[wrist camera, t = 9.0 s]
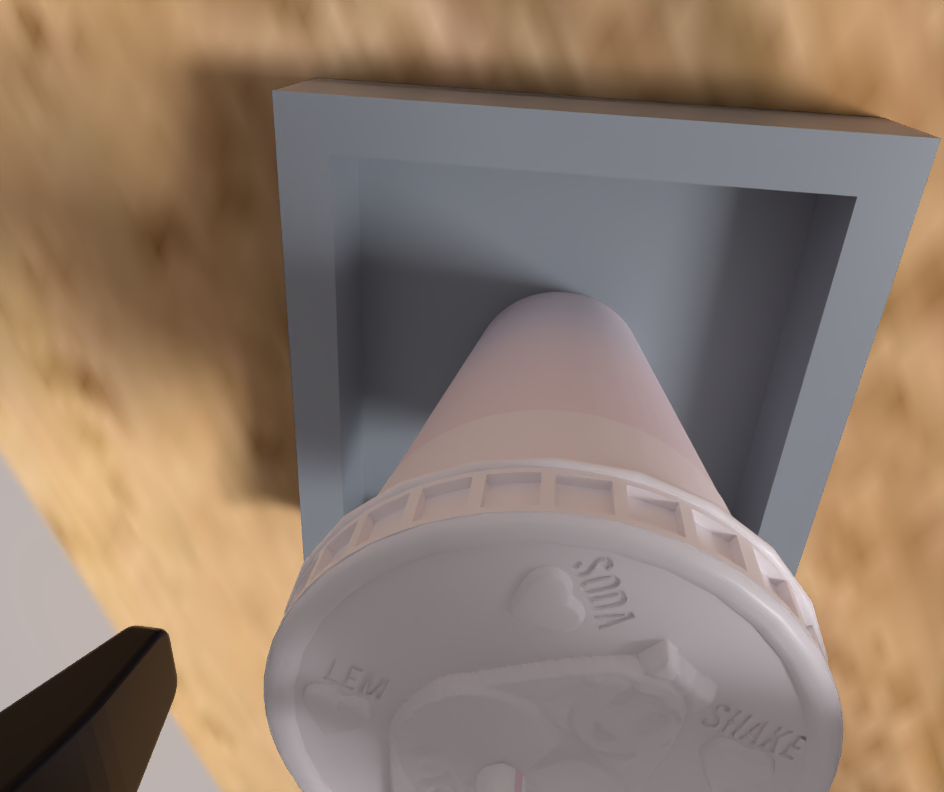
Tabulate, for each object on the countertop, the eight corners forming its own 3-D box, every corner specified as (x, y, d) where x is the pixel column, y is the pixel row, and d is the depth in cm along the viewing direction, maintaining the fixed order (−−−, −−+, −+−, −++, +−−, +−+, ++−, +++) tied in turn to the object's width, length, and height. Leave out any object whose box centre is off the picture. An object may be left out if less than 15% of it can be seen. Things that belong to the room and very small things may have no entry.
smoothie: (359, 359, 17) (-189, 1261, 5) (569, 159, 15) (538, 1011, 2) (548, 532, 19) (498, 1541, 6) (767, 380, 16) (1385, 1577, 4)
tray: (750, 568, 19) (773, 640, 17) (334, 518, 20) (305, 580, 18) (883, 118, 14) (940, 138, 12) (316, 77, 15) (272, 89, 13)
